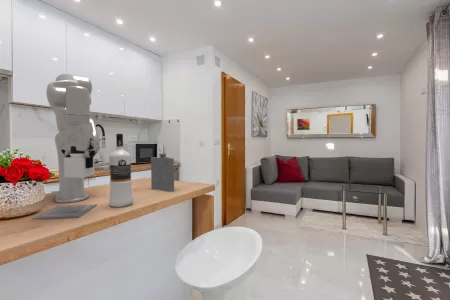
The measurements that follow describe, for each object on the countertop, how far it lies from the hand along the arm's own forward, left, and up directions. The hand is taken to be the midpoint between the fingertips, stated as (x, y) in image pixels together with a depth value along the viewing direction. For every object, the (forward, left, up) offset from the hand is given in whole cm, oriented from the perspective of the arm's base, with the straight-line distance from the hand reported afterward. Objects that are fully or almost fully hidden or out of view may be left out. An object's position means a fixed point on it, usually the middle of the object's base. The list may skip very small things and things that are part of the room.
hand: (79, 167), depth 87 cm
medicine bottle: (0, 0, -4) cm, 4 cm away
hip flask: (+26, +36, -17) cm, 47 cm away
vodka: (+12, +8, -17) cm, 23 cm away
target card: (-5, +1, -17) cm, 18 cm away
